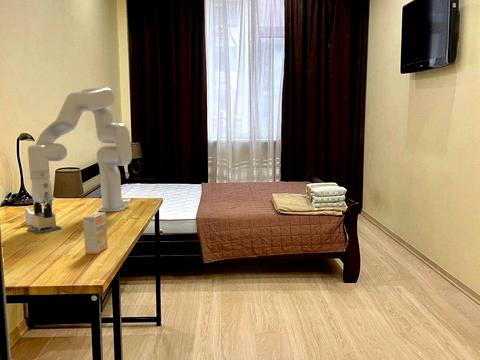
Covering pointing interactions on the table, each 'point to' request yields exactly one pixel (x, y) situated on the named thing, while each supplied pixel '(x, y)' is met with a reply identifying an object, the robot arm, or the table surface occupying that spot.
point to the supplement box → (95, 232)
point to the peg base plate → (42, 230)
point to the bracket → (29, 216)
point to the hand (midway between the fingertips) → (43, 215)
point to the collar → (43, 221)
